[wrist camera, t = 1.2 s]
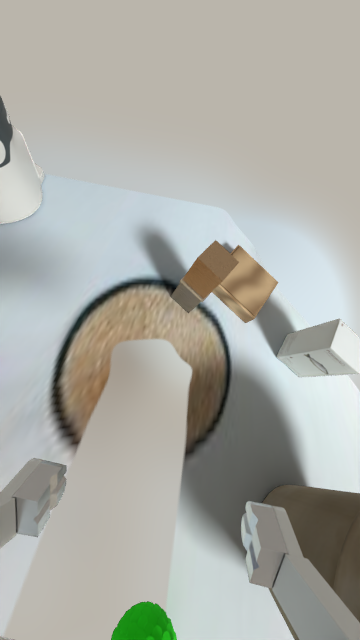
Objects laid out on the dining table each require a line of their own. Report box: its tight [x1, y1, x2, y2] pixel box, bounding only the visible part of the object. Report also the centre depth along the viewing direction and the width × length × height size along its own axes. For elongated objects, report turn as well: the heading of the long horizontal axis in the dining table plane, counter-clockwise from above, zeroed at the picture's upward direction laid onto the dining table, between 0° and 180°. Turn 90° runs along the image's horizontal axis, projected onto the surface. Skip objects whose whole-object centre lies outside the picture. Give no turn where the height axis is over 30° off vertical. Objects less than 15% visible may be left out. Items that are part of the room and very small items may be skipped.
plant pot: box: [263, 485, 360, 640], centre depth 26 cm, size 25×25×22 cm
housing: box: [171, 240, 239, 313], centre depth 38 cm, size 5×5×14 cm
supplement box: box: [276, 319, 360, 377], centre depth 43 cm, size 7×7×13 cm
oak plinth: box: [212, 245, 278, 323], centre depth 48 cm, size 13×13×3 cm
